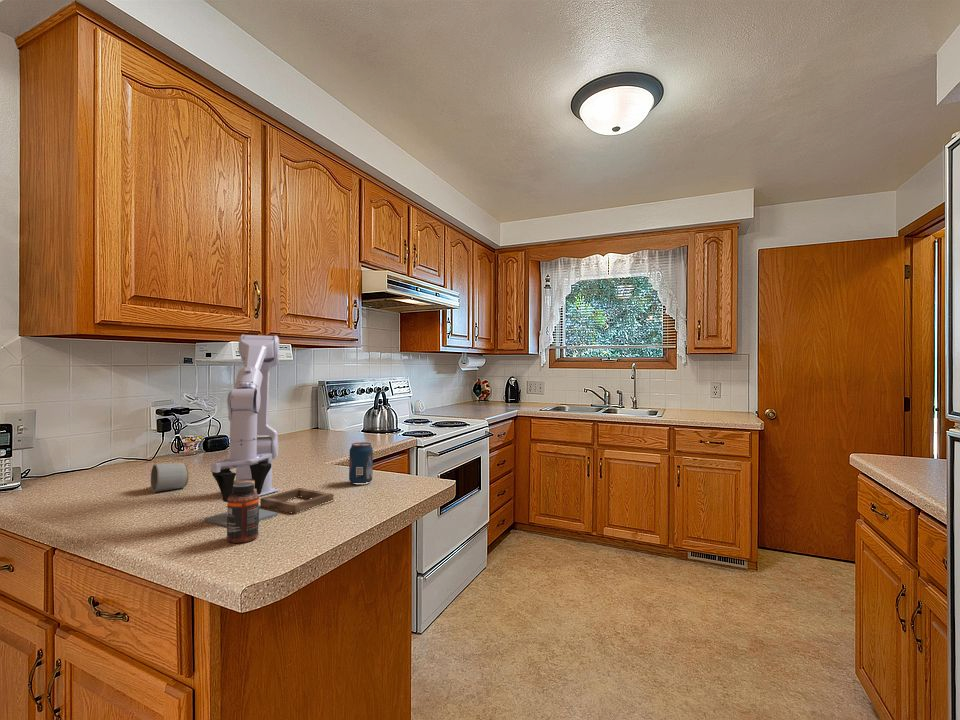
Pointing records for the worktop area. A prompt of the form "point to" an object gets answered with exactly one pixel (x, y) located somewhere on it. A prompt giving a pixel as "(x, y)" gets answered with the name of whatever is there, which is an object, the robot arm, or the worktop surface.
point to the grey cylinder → (169, 476)
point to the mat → (222, 517)
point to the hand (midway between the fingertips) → (242, 497)
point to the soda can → (360, 463)
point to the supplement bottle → (242, 513)
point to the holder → (280, 503)
